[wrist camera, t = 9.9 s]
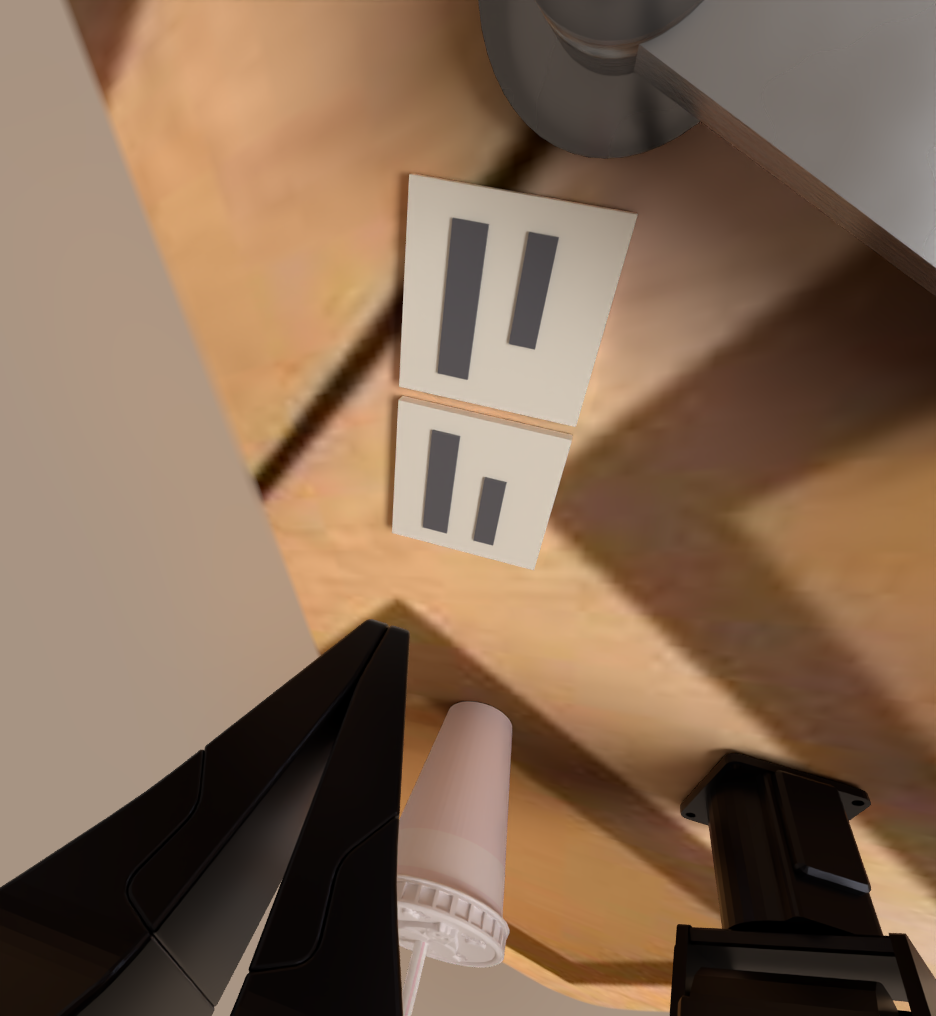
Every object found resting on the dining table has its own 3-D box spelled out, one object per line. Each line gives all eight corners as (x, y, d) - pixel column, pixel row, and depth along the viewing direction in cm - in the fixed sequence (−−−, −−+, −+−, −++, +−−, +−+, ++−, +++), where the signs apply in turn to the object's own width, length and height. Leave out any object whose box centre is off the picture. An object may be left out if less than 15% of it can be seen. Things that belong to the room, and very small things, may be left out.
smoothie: (408, 719, 30) (284, 1057, 19) (453, 668, 26) (330, 1059, 15) (501, 766, 30) (434, 1122, 19) (560, 724, 26) (517, 1139, 15)
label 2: (535, 563, 20) (533, 572, 20) (395, 527, 21) (391, 534, 21) (572, 434, 17) (571, 441, 16) (402, 395, 17) (397, 401, 17)
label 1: (576, 421, 16) (575, 428, 16) (403, 382, 17) (397, 387, 17) (637, 213, 13) (637, 215, 12) (414, 173, 14) (407, 174, 13)
